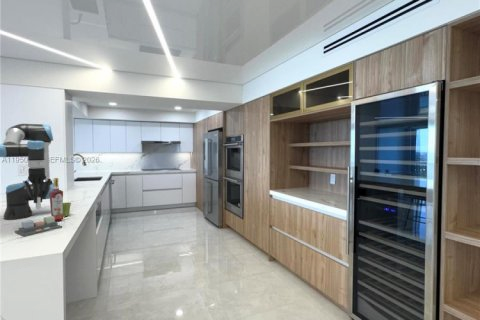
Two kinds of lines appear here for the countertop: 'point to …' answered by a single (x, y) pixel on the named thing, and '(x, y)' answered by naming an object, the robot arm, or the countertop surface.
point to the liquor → (56, 201)
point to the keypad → (38, 229)
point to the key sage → (49, 219)
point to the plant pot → (66, 209)
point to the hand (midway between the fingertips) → (38, 208)
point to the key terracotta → (39, 223)
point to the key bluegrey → (27, 224)
